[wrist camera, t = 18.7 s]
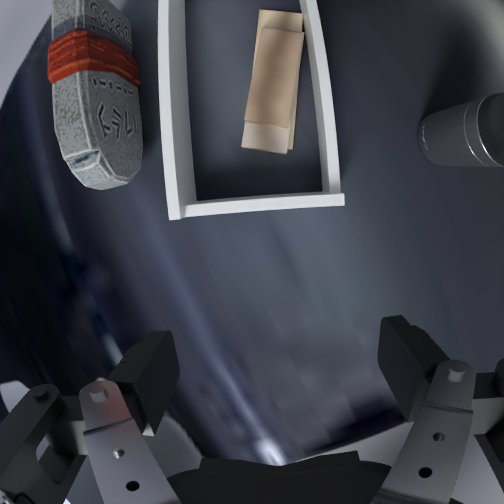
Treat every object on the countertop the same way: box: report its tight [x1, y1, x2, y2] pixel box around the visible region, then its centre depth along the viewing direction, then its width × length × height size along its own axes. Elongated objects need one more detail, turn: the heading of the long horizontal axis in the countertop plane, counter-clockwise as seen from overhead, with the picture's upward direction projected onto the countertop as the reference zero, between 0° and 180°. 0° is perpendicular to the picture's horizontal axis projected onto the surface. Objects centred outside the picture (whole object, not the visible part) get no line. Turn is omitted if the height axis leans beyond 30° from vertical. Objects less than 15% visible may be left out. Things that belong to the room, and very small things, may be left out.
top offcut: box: [244, 28, 303, 129], centre depth 39 cm, size 6×15×2 cm, turn 171°
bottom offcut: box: [253, 10, 303, 150], centre depth 43 cm, size 7×24×2 cm, turn 175°
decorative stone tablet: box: [48, 0, 143, 190], centre depth 36 cm, size 19×6×30 cm
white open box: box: [158, 0, 345, 220], centre depth 38 cm, size 22×40×10 cm, turn 5°
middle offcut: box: [241, 26, 304, 154], centre depth 42 cm, size 6×20×2 cm, turn 171°
